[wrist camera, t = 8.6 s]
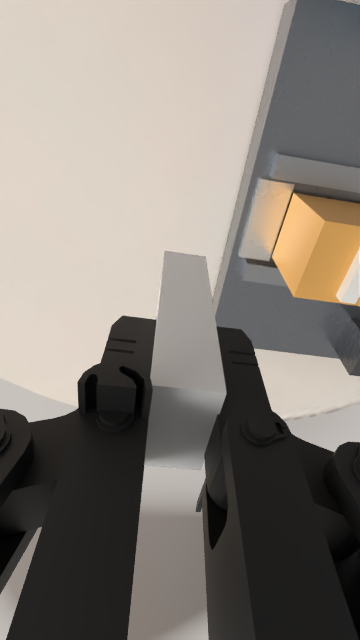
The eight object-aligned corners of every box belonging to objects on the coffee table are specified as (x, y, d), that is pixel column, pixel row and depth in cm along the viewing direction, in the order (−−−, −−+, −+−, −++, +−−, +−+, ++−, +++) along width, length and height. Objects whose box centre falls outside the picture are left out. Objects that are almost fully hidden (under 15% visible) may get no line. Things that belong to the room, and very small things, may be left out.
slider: (293, 192, 18) (330, 225, 14) (375, 206, 19) (437, 242, 14) (271, 257, 21) (297, 303, 16) (345, 267, 21) (390, 315, 17)
